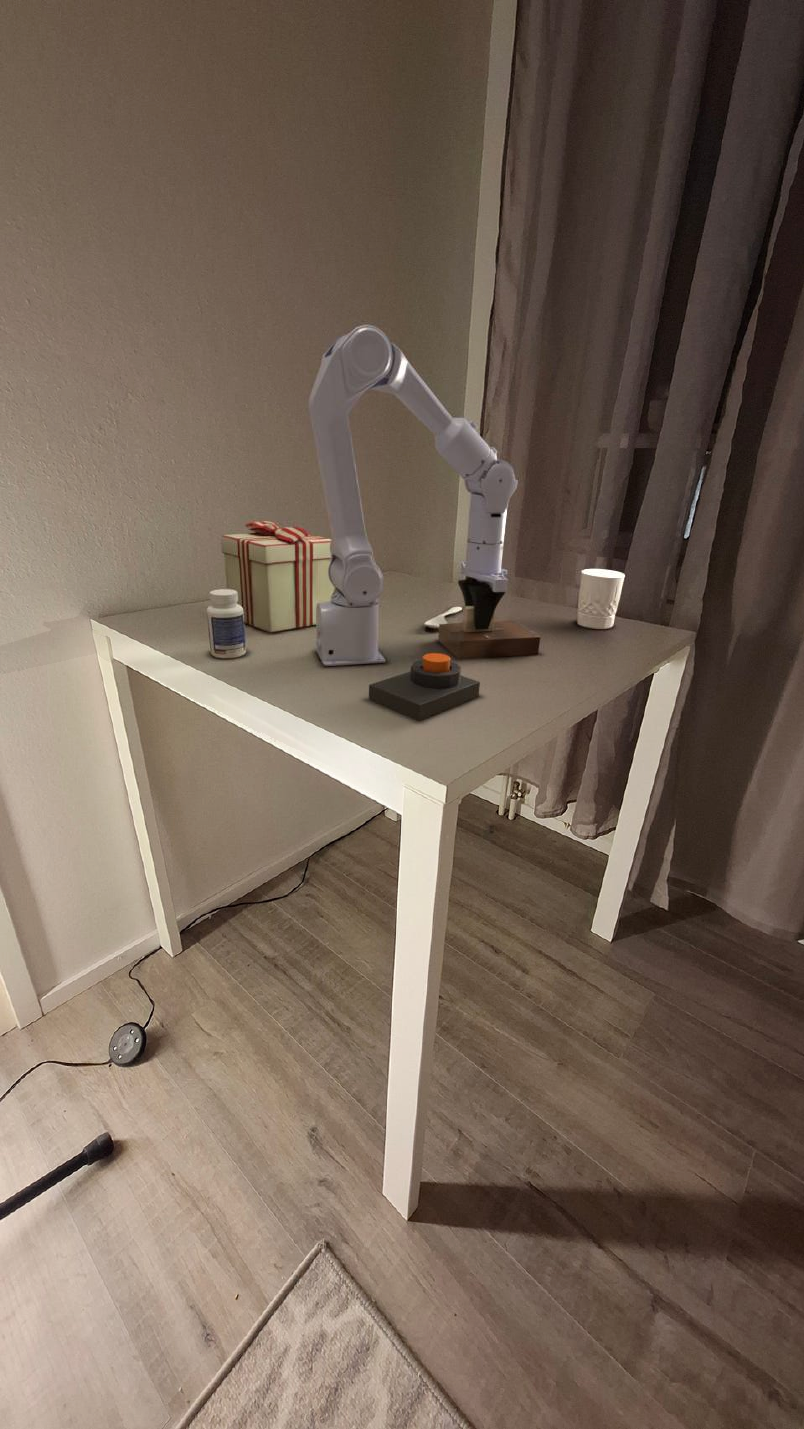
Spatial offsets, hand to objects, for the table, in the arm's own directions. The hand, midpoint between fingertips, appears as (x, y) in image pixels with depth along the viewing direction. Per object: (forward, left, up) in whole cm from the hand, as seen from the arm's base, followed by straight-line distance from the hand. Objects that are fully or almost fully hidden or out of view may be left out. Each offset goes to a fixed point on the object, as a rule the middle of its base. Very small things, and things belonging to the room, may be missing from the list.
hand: (477, 626), depth 102 cm
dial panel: (+2, 0, -4) cm, 4 cm away
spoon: (+1, +18, -4) cm, 18 cm away
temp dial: (0, 0, -1) cm, 1 cm away
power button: (-14, -19, 0) cm, 23 cm away
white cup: (+29, +10, -4) cm, 31 cm away
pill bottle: (-40, +4, -4) cm, 40 cm away
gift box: (-29, +24, -4) cm, 38 cm away
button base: (-16, -20, -4) cm, 25 cm away
